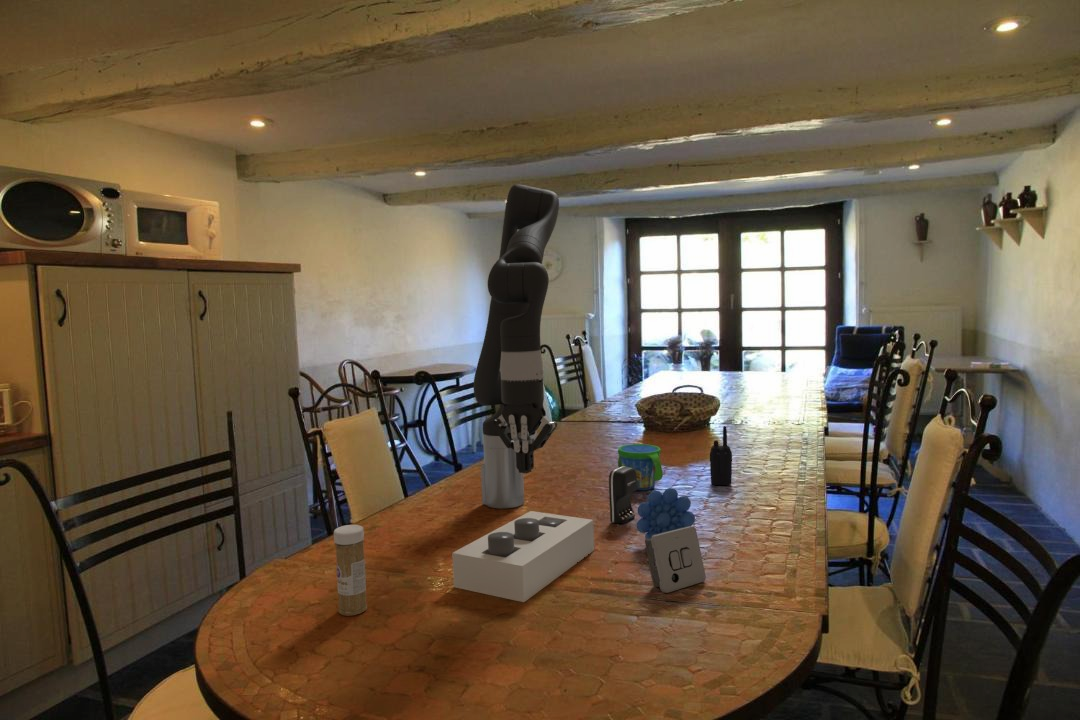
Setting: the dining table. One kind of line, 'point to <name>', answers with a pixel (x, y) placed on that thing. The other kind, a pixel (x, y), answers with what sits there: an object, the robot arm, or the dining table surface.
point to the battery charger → (621, 493)
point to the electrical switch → (675, 559)
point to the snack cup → (642, 463)
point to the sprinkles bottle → (350, 569)
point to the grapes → (664, 513)
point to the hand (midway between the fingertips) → (525, 472)
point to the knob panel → (524, 558)
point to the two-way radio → (721, 462)
